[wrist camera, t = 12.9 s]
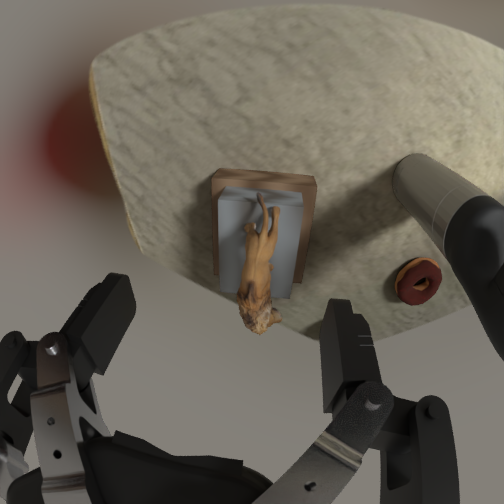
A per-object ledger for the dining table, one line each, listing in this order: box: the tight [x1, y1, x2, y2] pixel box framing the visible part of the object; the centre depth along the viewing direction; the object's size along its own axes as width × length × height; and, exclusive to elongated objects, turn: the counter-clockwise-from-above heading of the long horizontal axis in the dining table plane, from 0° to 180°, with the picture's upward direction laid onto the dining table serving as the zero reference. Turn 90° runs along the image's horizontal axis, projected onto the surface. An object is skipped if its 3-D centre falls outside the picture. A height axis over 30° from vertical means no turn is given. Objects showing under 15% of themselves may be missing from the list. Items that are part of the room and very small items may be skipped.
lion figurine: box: [237, 192, 282, 335], centre depth 31 cm, size 15×5×9 cm, turn 4°
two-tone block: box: [211, 168, 317, 299], centre depth 40 cm, size 14×16×10 cm
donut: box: [395, 258, 442, 306], centre depth 45 cm, size 10×10×4 cm
